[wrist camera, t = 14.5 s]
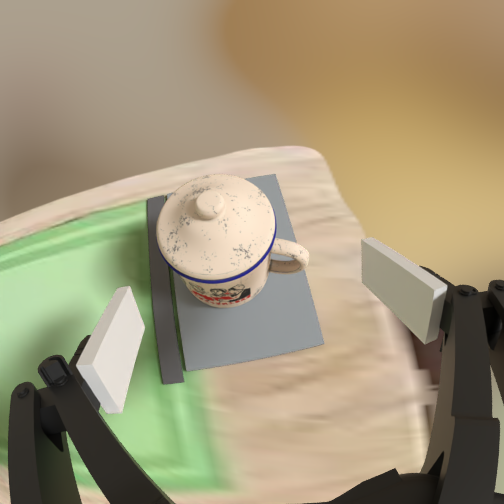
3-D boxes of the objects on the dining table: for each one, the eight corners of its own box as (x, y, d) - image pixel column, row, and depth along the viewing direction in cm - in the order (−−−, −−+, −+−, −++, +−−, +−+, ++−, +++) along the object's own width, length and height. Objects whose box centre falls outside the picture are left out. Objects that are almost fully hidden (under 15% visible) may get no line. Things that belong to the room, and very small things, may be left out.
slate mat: (187, 371, 26) (186, 371, 25) (168, 195, 34) (167, 194, 33) (323, 344, 26) (324, 343, 26) (275, 176, 35) (275, 173, 34)
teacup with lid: (170, 299, 28) (122, 249, 18) (196, 220, 32) (171, 144, 21) (291, 327, 27) (313, 290, 16) (306, 241, 30) (329, 168, 20)
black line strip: (164, 384, 25) (163, 384, 25) (148, 200, 34) (147, 199, 33) (184, 382, 25) (183, 382, 25) (164, 196, 34) (163, 195, 34)
